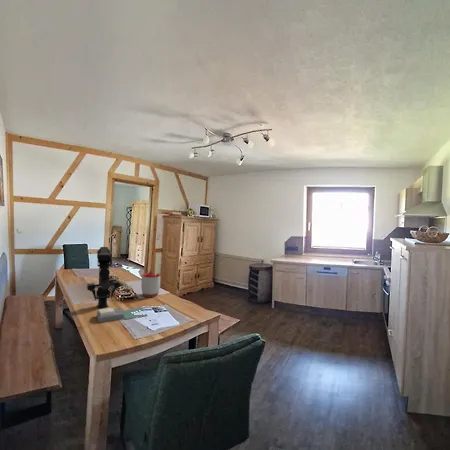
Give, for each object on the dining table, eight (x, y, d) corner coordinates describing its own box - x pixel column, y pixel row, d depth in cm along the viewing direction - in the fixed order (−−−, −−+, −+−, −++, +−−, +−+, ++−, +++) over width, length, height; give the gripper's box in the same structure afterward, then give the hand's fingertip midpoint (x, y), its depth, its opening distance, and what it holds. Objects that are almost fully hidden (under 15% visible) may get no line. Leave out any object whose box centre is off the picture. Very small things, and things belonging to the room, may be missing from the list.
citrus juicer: (163, 292, 236) (164, 269, 235) (156, 298, 219) (157, 273, 218) (145, 291, 238) (146, 268, 237) (137, 297, 220) (138, 272, 220)
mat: (120, 311, 188) (120, 310, 188) (141, 308, 195) (141, 307, 195) (125, 319, 174) (125, 318, 174) (147, 315, 182) (147, 315, 182)
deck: (96, 316, 178) (96, 311, 178) (119, 312, 185) (119, 308, 185) (99, 322, 168) (99, 317, 168) (123, 318, 175) (123, 314, 175)
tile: (99, 312, 176) (99, 309, 176) (112, 310, 181) (112, 307, 181) (100, 316, 170) (100, 312, 170) (114, 314, 175) (114, 311, 175)
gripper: (89, 278, 159) (88, 305, 160) (122, 275, 169) (122, 300, 170) (86, 274, 168) (86, 299, 169) (118, 272, 179) (118, 295, 179)
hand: (103, 298), depth 172 cm, fingers open, 9 cm apart
